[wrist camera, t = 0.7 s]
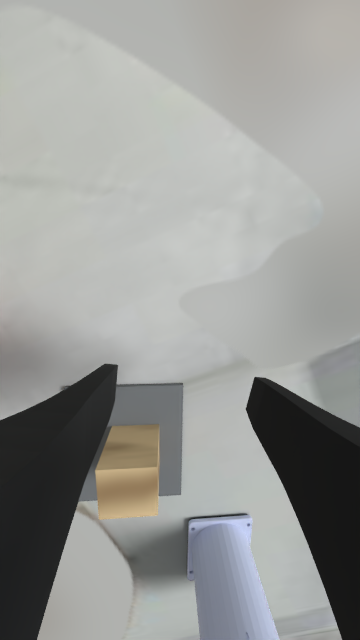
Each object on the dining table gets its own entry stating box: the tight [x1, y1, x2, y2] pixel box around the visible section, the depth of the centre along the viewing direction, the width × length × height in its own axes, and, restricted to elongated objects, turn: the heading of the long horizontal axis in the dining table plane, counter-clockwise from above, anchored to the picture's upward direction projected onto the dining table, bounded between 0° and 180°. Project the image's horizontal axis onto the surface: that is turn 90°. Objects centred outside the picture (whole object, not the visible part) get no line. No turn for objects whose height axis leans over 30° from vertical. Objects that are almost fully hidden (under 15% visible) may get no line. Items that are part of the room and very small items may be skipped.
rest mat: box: [64, 383, 183, 502], centre depth 21 cm, size 14×12×1 cm
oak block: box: [95, 424, 160, 520], centre depth 19 cm, size 5×5×5 cm
